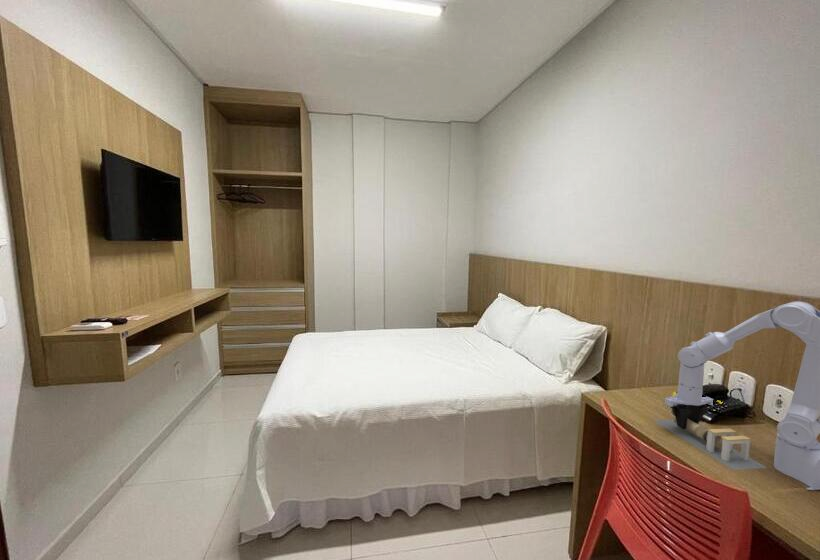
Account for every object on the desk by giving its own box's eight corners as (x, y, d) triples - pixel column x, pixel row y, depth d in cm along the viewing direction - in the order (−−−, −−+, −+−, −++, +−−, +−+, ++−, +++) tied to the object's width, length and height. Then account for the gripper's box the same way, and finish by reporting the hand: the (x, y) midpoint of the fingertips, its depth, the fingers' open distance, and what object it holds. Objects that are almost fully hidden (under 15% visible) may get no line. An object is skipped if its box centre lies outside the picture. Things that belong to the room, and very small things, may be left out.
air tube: (728, 449, 92) (729, 438, 92) (717, 450, 92) (718, 439, 91) (682, 424, 106) (683, 414, 106) (673, 424, 106) (673, 414, 105)
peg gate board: (767, 470, 86) (770, 445, 85) (733, 472, 85) (735, 447, 84) (679, 421, 110) (681, 402, 110) (652, 422, 109) (653, 402, 109)
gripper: (699, 379, 106) (695, 419, 107) (657, 380, 105) (654, 421, 106) (721, 388, 99) (717, 431, 100) (677, 389, 98) (674, 433, 99)
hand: (686, 427), depth 103 cm, fingers closed on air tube, 3 cm apart
